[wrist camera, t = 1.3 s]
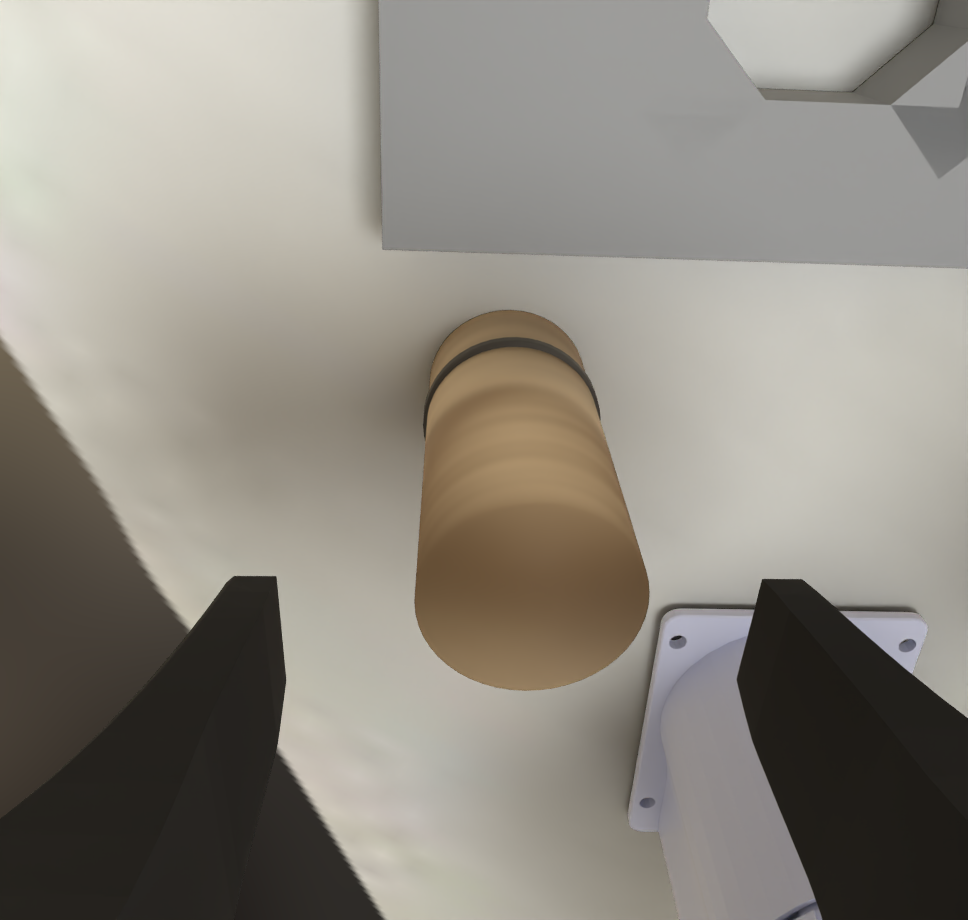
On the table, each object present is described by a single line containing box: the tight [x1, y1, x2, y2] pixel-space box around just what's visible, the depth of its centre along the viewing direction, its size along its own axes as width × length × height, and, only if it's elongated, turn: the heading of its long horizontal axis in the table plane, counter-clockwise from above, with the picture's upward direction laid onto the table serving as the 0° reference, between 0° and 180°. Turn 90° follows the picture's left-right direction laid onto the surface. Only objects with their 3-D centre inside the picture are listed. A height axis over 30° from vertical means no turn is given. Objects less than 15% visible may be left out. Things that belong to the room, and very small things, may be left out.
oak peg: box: [415, 310, 649, 691], centre depth 19 cm, size 4×4×9 cm
